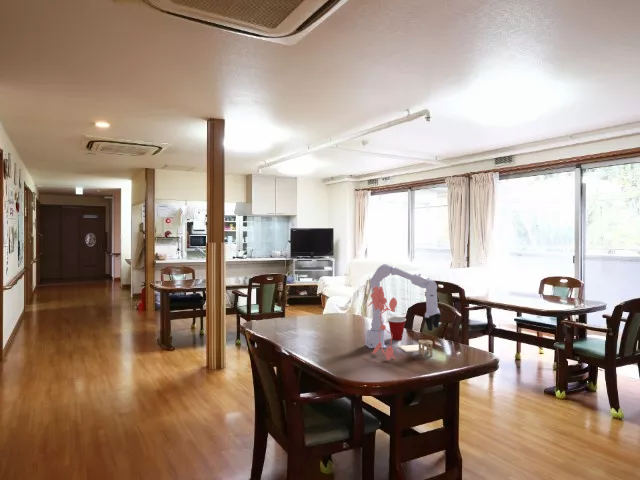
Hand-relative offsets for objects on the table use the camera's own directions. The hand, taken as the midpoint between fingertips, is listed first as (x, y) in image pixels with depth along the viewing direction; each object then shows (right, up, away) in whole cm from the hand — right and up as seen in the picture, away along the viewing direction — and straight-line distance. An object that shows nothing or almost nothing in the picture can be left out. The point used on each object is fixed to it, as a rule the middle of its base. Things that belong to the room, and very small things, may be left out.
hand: (433, 329), depth 230 cm
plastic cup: (-15, -11, +21) cm, 28 cm away
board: (-10, -10, -1) cm, 15 cm away
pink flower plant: (-31, -11, -18) cm, 38 cm away
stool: (-7, -10, -13) cm, 18 cm away
